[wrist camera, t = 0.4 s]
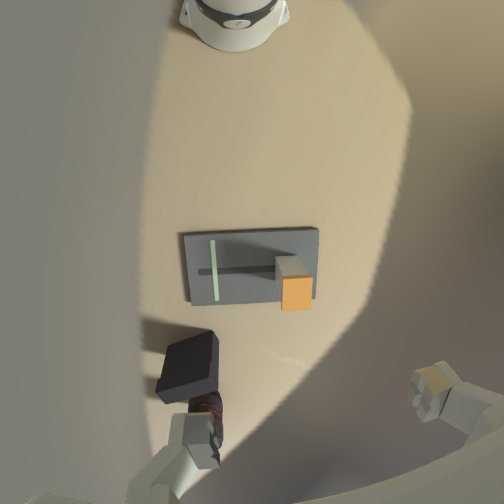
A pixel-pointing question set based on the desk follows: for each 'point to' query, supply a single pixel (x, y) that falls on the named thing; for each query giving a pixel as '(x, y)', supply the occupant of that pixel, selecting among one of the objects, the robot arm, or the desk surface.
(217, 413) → the camera lens
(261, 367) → the desk surface
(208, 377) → the calculator
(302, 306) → the fader knob
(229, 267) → the fader console
